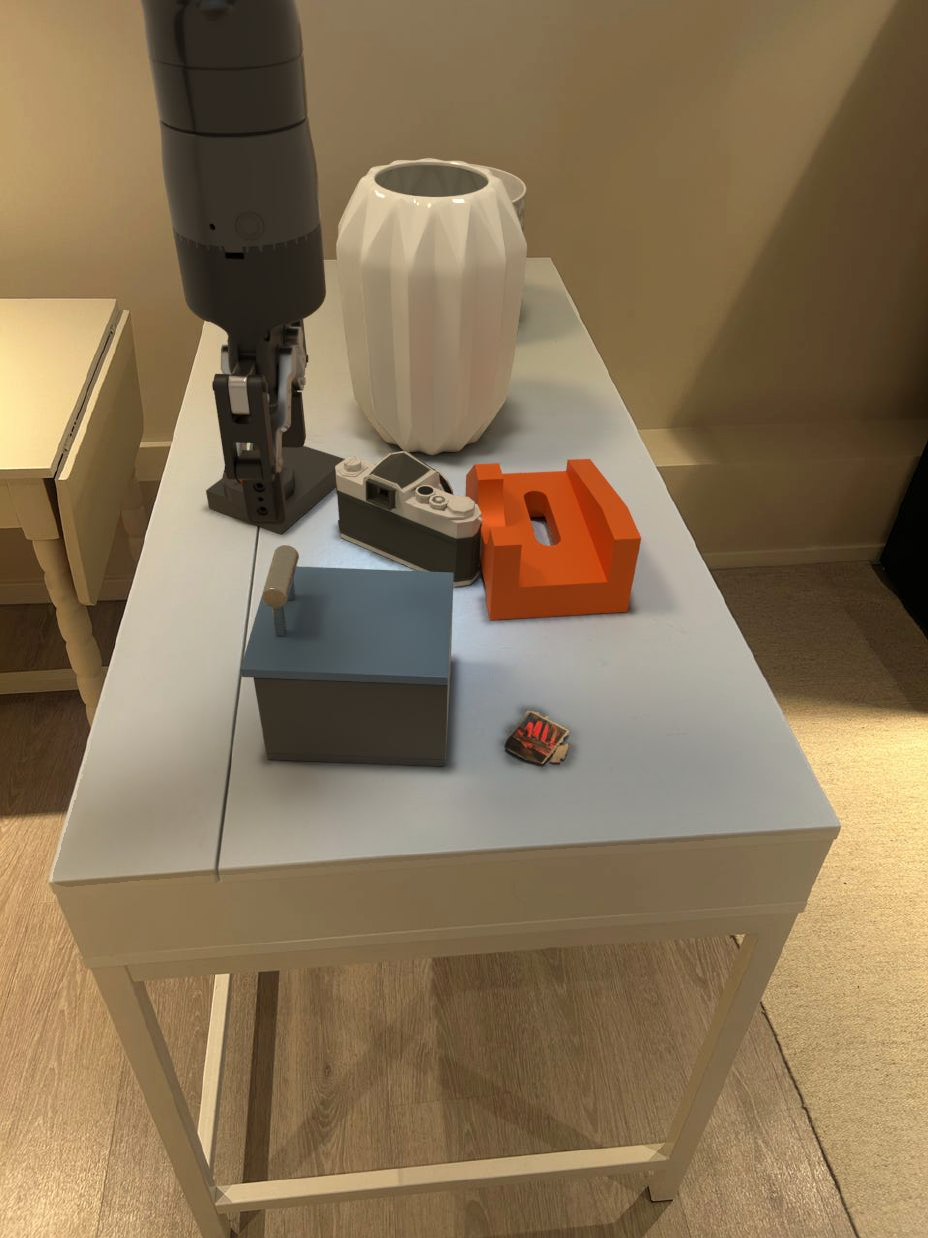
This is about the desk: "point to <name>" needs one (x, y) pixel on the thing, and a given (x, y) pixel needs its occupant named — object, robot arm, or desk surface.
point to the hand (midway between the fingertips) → (279, 480)
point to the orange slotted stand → (581, 531)
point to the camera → (409, 515)
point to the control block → (303, 486)
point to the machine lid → (351, 624)
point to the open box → (354, 720)
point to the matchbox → (537, 739)
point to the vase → (430, 300)
